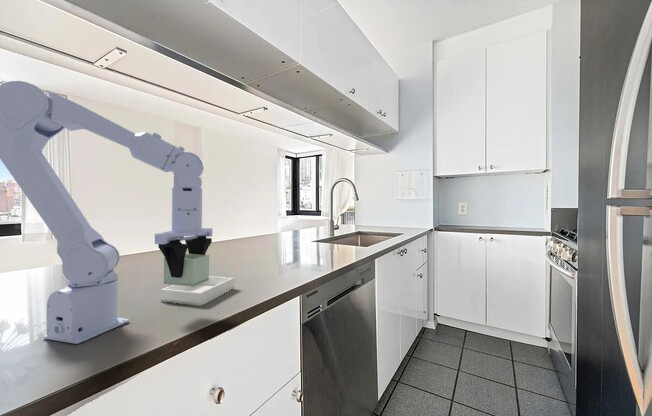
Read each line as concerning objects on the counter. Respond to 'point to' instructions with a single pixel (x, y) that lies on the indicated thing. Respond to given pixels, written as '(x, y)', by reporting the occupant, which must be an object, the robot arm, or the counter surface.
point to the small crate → (189, 271)
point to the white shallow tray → (197, 291)
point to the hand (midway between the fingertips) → (186, 273)
